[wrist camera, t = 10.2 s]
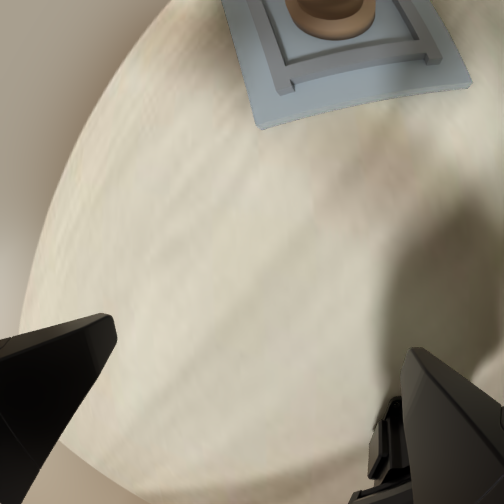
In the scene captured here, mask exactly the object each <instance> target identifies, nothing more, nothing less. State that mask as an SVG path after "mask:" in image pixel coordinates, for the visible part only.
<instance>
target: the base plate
mask: <svg viewBox="0 0 504 504" xmlns="http://www.w3.org/2000/svg"><path fill="white" fill-rule="evenodd" d="M221 1H222V5H223V8H224V11H225V15H226V18H227V21H228V25H229V28H230V32H231V35H232V39H233V42H234V46H235V49H236V53H237V56H238V60H239V64H240V67H241V71H242V75H243V78H244V82H245V86H246V89H247V93H248V97H249V101H250V105H251V108H252V112H253V116H254V120H255V124H256V126H257V127H258V128H260V129H261V130H263V129H267V128H270V127H273V126H277V125H280V124H284V123H287V122H291V121H294V120H298V119H302V118H305V117H309V116H313V115H317V114H321V113H325V112H329V111H333V110H338V109H342V108H347V107H351V106H356V105H360V104H365V103H370V102H375V101H381V100H386V99H392V98H397V97H404V96H410V95H416V94H423V93H431V92H439V91H447V90H457V89H467V88H468V87H469V86H470V85H471V84H472V83H473V82H472V79H471V77H470V75H469V72H468V70H467V68H466V66H465V64H464V61H463V59H462V57H461V55H460V53H459V51H458V49H457V47H456V45H455V43H454V41H453V40H452V38H451V36H450V34H449V32H448V30H447V29H446V27H445V25H444V23H443V22H442V20H441V18H440V17H439V15H438V13H437V12H436V10H435V8H434V7H433V5H432V4H431V2H430V0H376V8H375V19H374V22H373V24H372V25H371V27H370V28H369V29H368V30H367V31H366V32H364V33H363V34H361V35H359V36H357V37H355V38H351V39H347V40H340V41H331V40H323V39H319V38H315V37H313V36H310V35H308V34H306V33H305V32H303V31H302V30H300V29H299V28H298V27H297V26H296V25H295V24H294V22H293V20H292V18H291V16H290V14H289V11H288V9H287V7H286V4H285V0H221Z"/></svg>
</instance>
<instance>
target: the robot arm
mask: <svg viewBox="0 0 504 504" xmlns="http://www.w3.org/2000/svg"><path fill="white" fill-rule="evenodd" d="M116 343H117V333H116V329H115V324H114V320H113V317H112V316H111V315H109V314H104V313H98V314H95V315H91V316H88V317H84V318H80V319H77V320H73V321H69V322H66V323H62V324H58V325H54V326H51V327H47V328H43V329H39V330H36V331H32V332H28V333H24V334H21V335H17V336H13V337H12V338H11V337H9V338H5V339H1V340H0V503H1V504H21V503H22V501H23V500H24V498H25V496H26V494H27V492H28V490H29V489H30V487H31V485H32V483H33V482H34V480H35V478H36V476H37V475H38V473H39V471H40V469H41V467H42V466H43V464H44V462H45V461H46V459H47V457H48V456H49V454H50V452H51V451H52V449H53V447H54V446H55V444H56V442H57V441H58V439H59V437H60V436H61V434H62V433H63V431H64V429H65V428H66V426H67V425H68V423H69V421H70V420H71V418H72V417H73V415H74V414H75V412H76V411H77V409H78V407H79V406H80V404H81V403H82V401H83V400H84V398H85V397H86V395H87V394H88V392H89V391H90V389H91V388H92V386H93V385H94V383H95V382H96V380H97V378H98V377H99V375H100V373H101V371H102V369H103V367H104V366H105V364H106V362H107V360H108V358H109V356H110V354H111V353H112V351H113V349H114V347H115V345H116ZM400 382H401V394H402V397H394V398H392V399H391V400H390V402H389V405H388V408H387V411H386V413H385V416H384V418H383V420H380V421H379V422H378V423H377V426H376V428H375V431H374V433H373V436H372V438H371V441H370V443H369V461H368V478H369V479H373V480H374V487H373V488H370V489H367V490H364V491H362V490H360V491H357V492H354V493H353V495H352V497H351V499H350V501H349V503H348V504H504V406H502V407H501V404H500V403H498V402H497V401H496V400H494V399H493V398H491V397H490V396H489V395H487V394H486V393H485V392H483V391H482V390H481V389H479V388H478V387H477V386H475V385H474V384H472V383H471V382H470V381H468V380H467V379H466V378H464V377H463V376H461V375H460V374H459V373H457V372H456V371H455V370H453V369H452V368H450V367H449V366H448V365H446V364H445V363H443V362H442V361H441V360H439V359H438V358H436V357H435V356H434V355H432V354H431V353H429V352H428V351H427V350H425V349H424V348H421V347H412V348H409V349H408V351H407V354H406V357H405V360H404V363H403V366H402V369H401V374H400ZM396 402H398V404H397V405H394V403H396Z"/></svg>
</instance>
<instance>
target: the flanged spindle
mask: <svg viewBox="0 0 504 504" xmlns="http://www.w3.org/2000/svg"><path fill="white" fill-rule="evenodd" d="M285 4H286V7H287V9H288V11H289V14H290V16H291V18H292V20H293V22H294V24H295V25H296V26H297V27H298V28H299V29H300V30H302V31H303V32H305V33H306V34H308V35H310V36H313V37H315V38H319V39H323V40H331V41H340V40H347V39H351V38H355V37H357V36H359V35H361V34H363V33H364V32H366V31H367V30H368V29H369V28H370V27H371V25H372V24H373V22H374V19H375V8H376V0H285Z"/></svg>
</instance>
